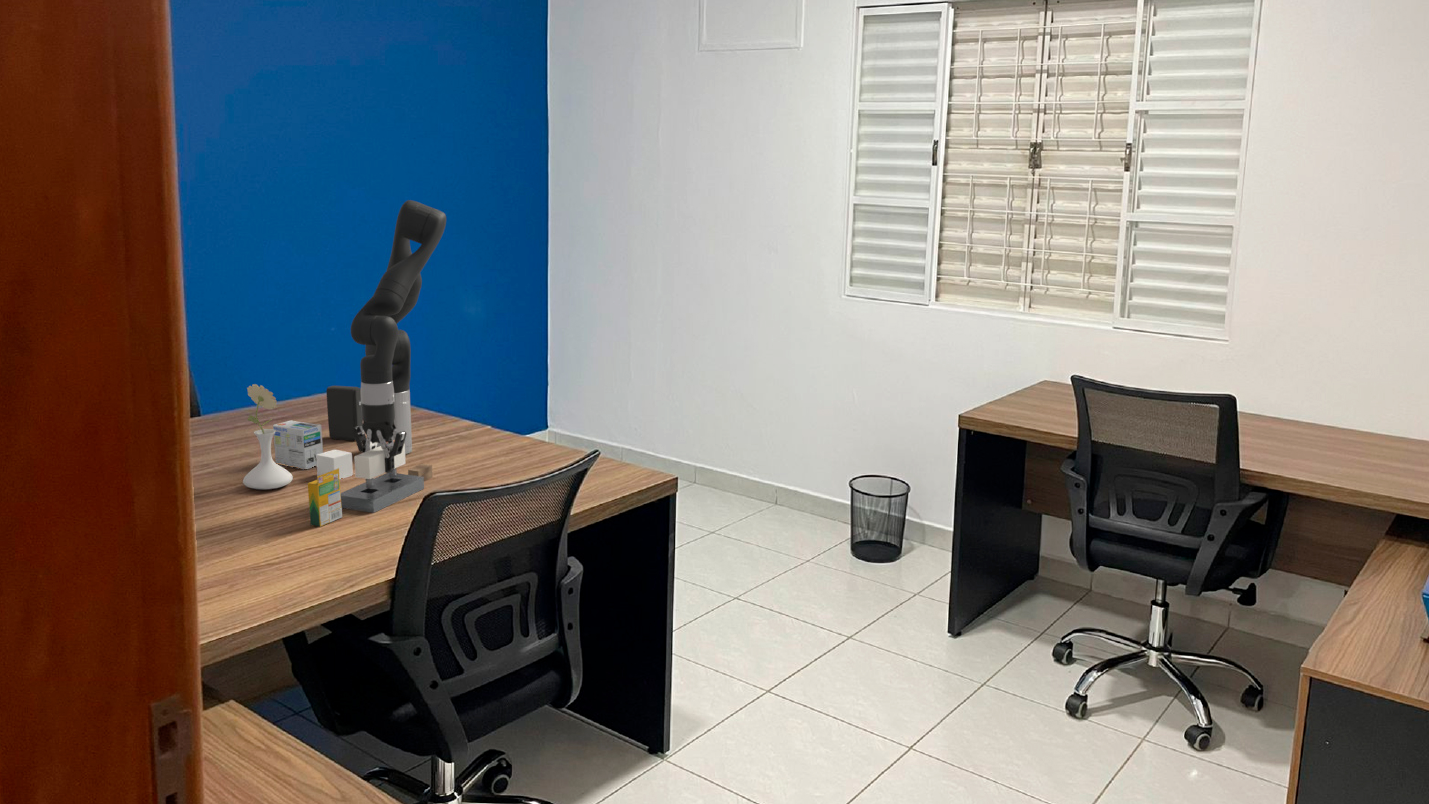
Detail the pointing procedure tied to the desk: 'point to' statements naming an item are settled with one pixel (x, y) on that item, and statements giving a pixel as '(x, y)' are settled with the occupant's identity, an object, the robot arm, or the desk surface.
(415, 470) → the walnut stand
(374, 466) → the white plug-in block
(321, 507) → the crayon box
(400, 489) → the mounting plate
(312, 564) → the desk surface
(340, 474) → the white cube
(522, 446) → the desk surface
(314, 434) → the light bulb box
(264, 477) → the flower in vase
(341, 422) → the black upright block
